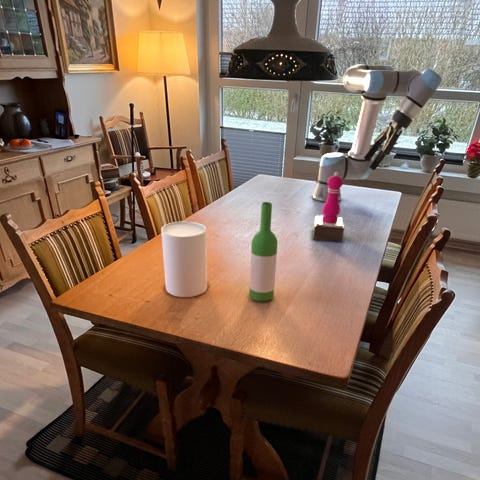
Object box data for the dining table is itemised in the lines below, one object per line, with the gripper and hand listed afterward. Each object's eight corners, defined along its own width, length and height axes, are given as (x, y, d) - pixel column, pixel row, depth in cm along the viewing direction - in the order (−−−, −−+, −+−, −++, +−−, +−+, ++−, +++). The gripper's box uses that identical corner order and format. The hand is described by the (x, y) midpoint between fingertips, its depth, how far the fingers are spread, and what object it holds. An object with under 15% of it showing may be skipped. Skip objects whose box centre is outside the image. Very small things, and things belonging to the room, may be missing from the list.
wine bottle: (244, 296, 132) (247, 202, 116) (260, 288, 136) (266, 197, 120) (261, 305, 127) (267, 209, 111) (278, 297, 132) (286, 203, 116)
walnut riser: (313, 230, 185) (315, 215, 181) (340, 232, 184) (343, 217, 180) (313, 240, 175) (315, 224, 171) (341, 242, 174) (344, 226, 170)
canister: (212, 281, 140) (212, 224, 129) (198, 299, 129) (196, 239, 118) (175, 275, 143) (172, 219, 132) (158, 293, 132) (153, 233, 121)
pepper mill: (317, 218, 177) (324, 170, 167) (332, 217, 180) (339, 169, 169) (326, 224, 172) (333, 174, 161) (341, 222, 174) (349, 173, 163)
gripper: (421, 125, 147) (381, 177, 158) (405, 113, 167) (371, 160, 179) (405, 114, 145) (365, 167, 157) (390, 103, 165) (357, 151, 177)
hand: (368, 164), depth 168 cm, fingers open, 13 cm apart
